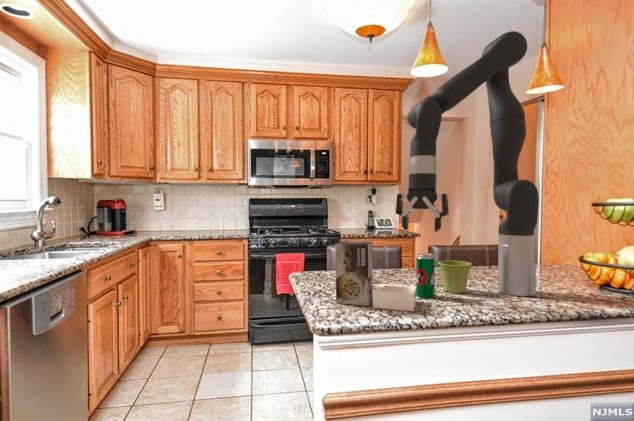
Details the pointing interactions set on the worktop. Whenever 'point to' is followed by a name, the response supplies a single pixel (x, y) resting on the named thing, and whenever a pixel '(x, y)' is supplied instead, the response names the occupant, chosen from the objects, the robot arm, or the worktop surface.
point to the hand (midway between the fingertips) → (420, 230)
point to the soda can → (425, 275)
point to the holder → (395, 297)
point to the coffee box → (354, 273)
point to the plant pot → (454, 275)
